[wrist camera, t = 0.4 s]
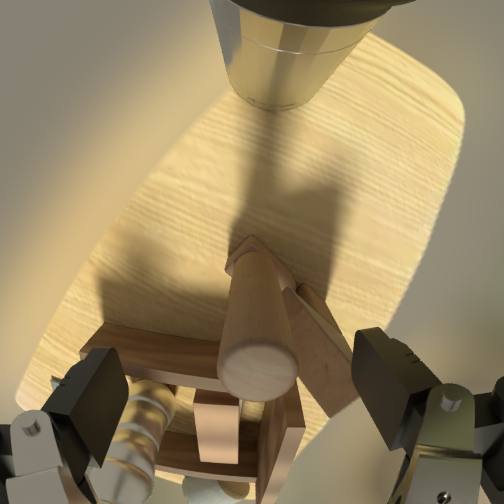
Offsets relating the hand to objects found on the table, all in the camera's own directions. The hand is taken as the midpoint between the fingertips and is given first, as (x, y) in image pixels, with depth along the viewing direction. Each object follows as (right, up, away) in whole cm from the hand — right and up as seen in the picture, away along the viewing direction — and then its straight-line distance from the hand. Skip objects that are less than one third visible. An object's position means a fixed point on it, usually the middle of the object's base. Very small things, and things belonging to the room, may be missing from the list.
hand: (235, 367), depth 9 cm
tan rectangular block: (-3, -15, +25) cm, 29 cm away
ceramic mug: (-6, -30, +29) cm, 42 cm away
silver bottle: (-12, -14, +25) cm, 31 cm away
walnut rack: (-8, -15, +25) cm, 30 cm away
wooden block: (+3, +1, +21) cm, 21 cm away
